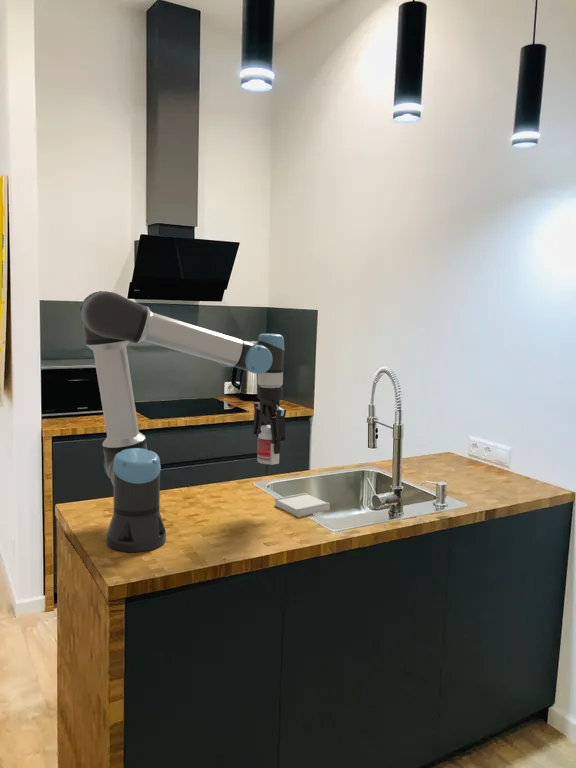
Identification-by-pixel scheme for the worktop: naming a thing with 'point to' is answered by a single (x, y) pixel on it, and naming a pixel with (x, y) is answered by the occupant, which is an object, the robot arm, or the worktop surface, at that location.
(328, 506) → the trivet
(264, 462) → the pill bottle
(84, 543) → the worktop surface
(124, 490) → the robot arm
